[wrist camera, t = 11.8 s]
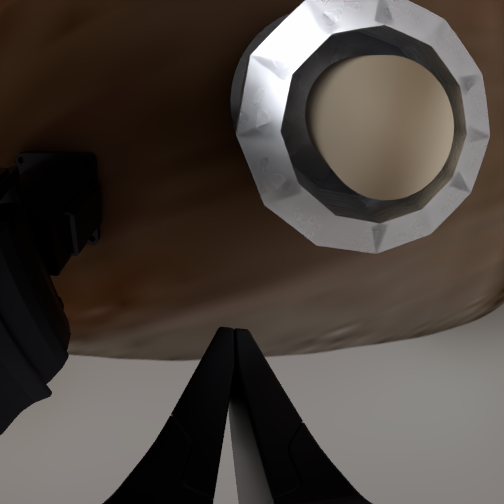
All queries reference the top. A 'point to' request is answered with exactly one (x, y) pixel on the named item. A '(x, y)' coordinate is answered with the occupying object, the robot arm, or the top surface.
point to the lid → (380, 124)
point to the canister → (297, 139)
